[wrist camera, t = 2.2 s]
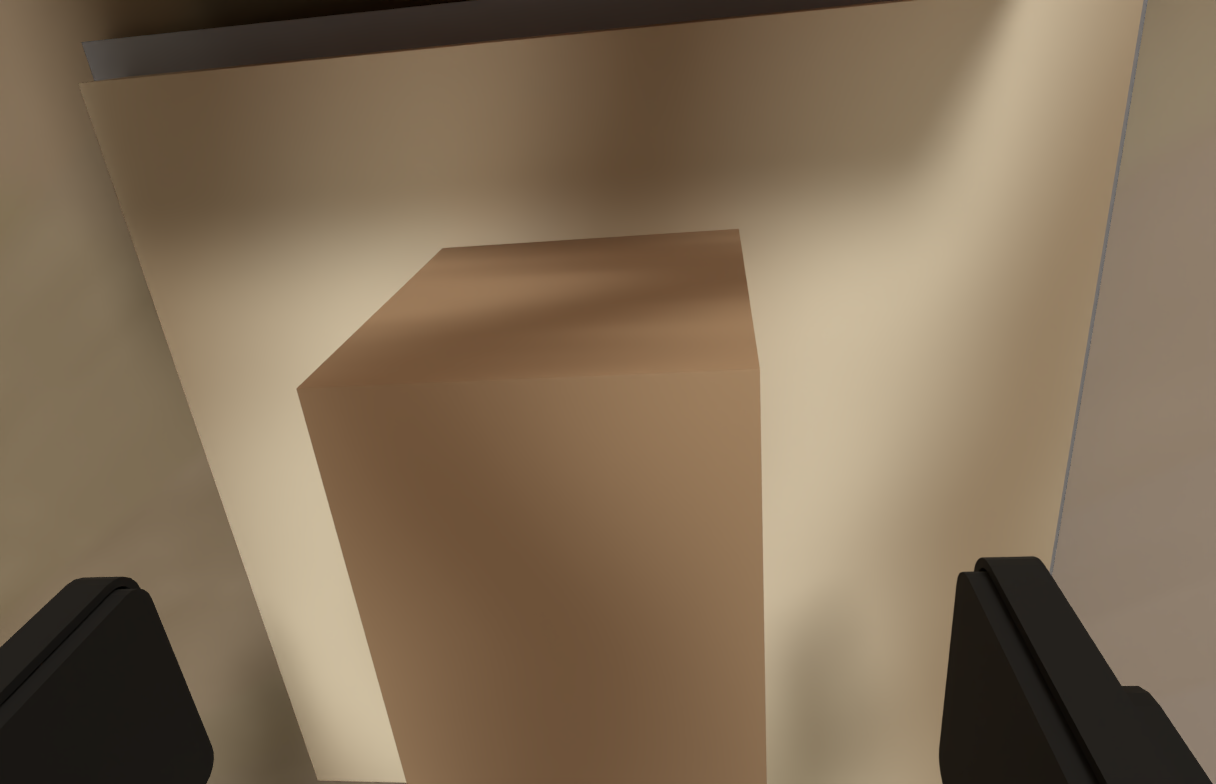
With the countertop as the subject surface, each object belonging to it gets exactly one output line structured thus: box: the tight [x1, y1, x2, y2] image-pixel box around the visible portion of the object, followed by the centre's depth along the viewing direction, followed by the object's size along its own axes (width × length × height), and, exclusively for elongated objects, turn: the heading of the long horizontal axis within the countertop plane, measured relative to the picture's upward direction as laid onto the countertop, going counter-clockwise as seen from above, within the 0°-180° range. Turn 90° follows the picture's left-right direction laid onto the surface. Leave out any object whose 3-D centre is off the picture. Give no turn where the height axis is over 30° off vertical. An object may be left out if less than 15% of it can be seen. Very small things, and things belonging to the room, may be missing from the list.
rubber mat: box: [82, 0, 1148, 576], centre depth 14 cm, size 14×14×1 cm
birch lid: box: [78, 0, 1143, 784], centre depth 11 cm, size 13×13×6 cm
